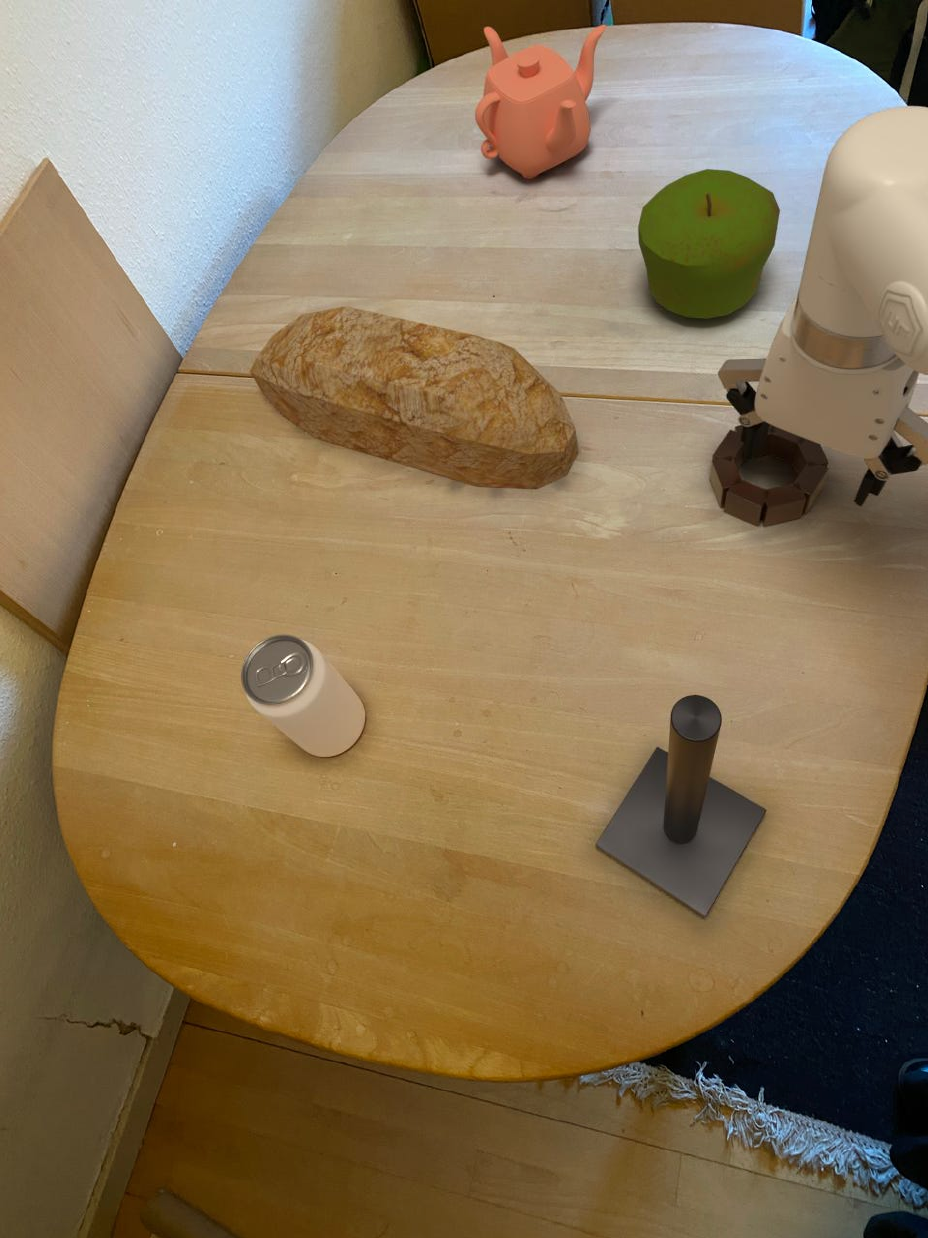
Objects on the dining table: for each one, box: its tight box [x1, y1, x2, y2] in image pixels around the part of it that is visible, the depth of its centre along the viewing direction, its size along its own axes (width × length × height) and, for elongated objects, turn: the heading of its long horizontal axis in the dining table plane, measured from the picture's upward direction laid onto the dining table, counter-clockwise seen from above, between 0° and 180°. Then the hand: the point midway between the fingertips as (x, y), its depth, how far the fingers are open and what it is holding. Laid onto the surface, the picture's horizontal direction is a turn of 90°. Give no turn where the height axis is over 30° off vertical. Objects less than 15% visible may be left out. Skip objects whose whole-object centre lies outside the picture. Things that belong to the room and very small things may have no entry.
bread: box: [249, 306, 579, 490], centre depth 81 cm, size 36×11×10 cm, turn 63°
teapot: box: [474, 24, 607, 180], centre depth 95 cm, size 14×14×11 cm
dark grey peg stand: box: [595, 694, 768, 920], centre depth 51 cm, size 9×9×25 cm
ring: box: [709, 424, 830, 527], centre depth 73 cm, size 9×9×3 cm
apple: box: [637, 168, 781, 320], centre depth 80 cm, size 12×12×11 cm
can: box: [240, 634, 366, 758], centre depth 67 cm, size 6×6×12 cm
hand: (808, 469), depth 70 cm, fingers open, 9 cm apart
